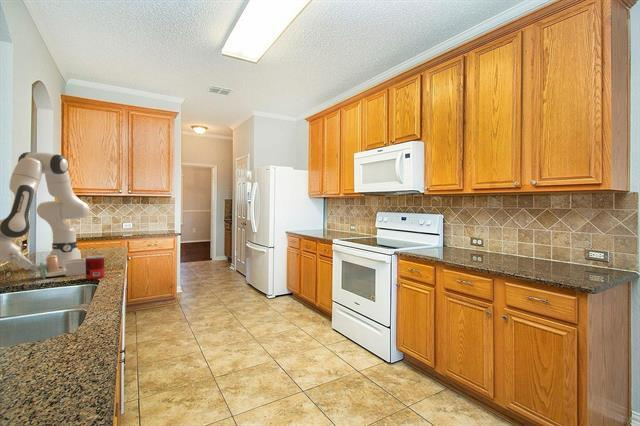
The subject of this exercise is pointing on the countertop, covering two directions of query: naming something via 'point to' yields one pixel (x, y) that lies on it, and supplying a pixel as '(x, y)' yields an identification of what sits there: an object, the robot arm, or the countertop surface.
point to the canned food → (95, 267)
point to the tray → (45, 274)
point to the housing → (74, 267)
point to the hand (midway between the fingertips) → (36, 270)
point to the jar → (52, 264)
